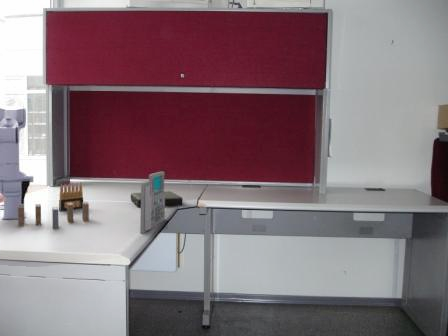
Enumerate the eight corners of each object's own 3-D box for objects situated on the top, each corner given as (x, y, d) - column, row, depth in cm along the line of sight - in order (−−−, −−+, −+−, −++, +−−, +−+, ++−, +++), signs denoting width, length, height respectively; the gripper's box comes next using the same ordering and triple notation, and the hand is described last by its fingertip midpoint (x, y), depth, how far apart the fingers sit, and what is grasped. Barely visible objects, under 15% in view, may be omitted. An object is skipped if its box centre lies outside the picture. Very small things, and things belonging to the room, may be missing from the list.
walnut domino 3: (67, 220, 155) (67, 202, 154) (72, 220, 156) (72, 202, 155) (68, 223, 150) (68, 205, 150) (73, 222, 151) (73, 204, 151)
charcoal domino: (52, 226, 145) (52, 207, 145) (57, 225, 146) (57, 206, 145) (53, 229, 141) (52, 209, 140) (58, 228, 142) (58, 209, 141)
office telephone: (146, 234, 136) (147, 177, 135) (139, 234, 137) (139, 176, 135) (168, 220, 159) (168, 171, 157) (161, 220, 160) (162, 170, 158)
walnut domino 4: (82, 219, 157) (82, 202, 157) (87, 219, 158) (87, 201, 157) (83, 222, 153) (83, 204, 152) (88, 221, 154) (88, 203, 153)
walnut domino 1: (19, 223, 148) (18, 205, 147) (24, 223, 149) (24, 204, 148) (18, 226, 143) (18, 207, 143) (24, 226, 144) (23, 207, 143)
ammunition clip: (60, 211, 171) (60, 184, 170) (58, 211, 172) (58, 183, 171) (83, 208, 179) (83, 182, 178) (81, 208, 180) (81, 181, 179)
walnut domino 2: (35, 222, 150) (35, 204, 150) (40, 222, 151) (40, 204, 150) (35, 225, 146) (35, 206, 145) (41, 225, 146) (40, 206, 146)
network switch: (187, 206, 191) (187, 196, 191) (140, 210, 179) (140, 199, 179) (168, 199, 211) (168, 190, 210) (125, 202, 199) (125, 192, 198)
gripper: (-19, 164, 124) (-18, 207, 125) (32, 164, 130) (33, 205, 131) (-16, 163, 131) (-15, 203, 132) (33, 162, 137) (33, 201, 138)
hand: (9, 204), depth 132 cm, fingers open, 7 cm apart
